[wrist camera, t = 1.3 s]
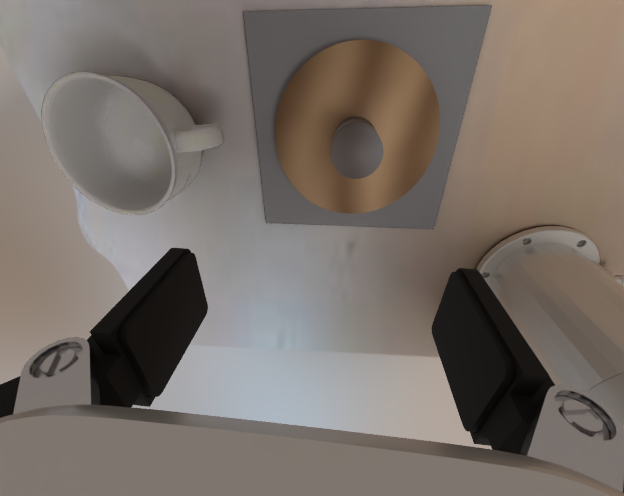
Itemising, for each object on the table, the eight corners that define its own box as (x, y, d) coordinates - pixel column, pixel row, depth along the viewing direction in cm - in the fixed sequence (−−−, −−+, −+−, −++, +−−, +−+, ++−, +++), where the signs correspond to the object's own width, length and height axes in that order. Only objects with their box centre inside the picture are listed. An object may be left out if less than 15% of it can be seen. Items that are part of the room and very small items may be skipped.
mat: (489, 6, 21) (492, 5, 21) (432, 226, 31) (433, 228, 31) (245, 12, 23) (243, 11, 22) (267, 220, 33) (266, 222, 33)
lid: (456, 39, 22) (490, 30, 17) (418, 212, 30) (434, 240, 25) (270, 42, 23) (250, 34, 18) (281, 207, 31) (270, 234, 26)
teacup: (127, 180, 32) (70, 210, 25) (91, 67, 26) (4, 66, 19) (247, 190, 31) (221, 224, 24) (239, 77, 25) (202, 80, 19)
